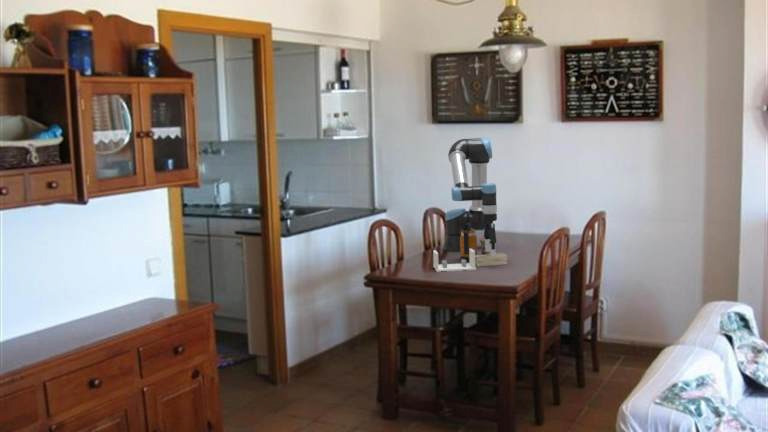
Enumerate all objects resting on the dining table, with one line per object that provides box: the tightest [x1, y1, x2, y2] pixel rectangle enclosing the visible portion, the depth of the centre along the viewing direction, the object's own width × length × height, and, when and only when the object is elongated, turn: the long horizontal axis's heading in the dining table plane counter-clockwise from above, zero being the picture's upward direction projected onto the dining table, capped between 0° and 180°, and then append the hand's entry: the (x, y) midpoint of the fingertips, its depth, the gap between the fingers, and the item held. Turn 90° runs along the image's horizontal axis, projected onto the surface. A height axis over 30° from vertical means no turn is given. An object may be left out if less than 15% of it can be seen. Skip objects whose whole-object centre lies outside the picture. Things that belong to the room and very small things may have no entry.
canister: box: [459, 223, 478, 262], centre depth 429 cm, size 9×11×20 cm
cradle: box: [432, 249, 477, 273], centre depth 408 cm, size 14×20×9 cm
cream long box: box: [475, 253, 508, 267], centre depth 415 cm, size 6×16×5 cm, turn 101°
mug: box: [479, 237, 490, 255], centre depth 434 cm, size 12×9×11 cm
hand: (490, 253), depth 414 cm, fingers open, 13 cm apart
